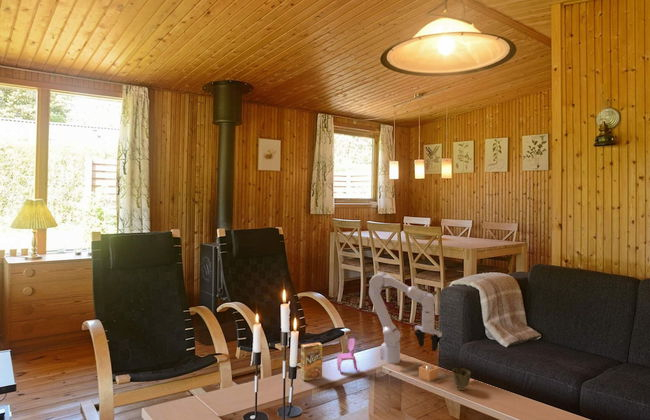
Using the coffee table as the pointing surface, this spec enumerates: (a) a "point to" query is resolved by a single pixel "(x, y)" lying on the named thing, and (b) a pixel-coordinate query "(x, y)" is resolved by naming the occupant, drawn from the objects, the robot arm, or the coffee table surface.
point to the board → (414, 372)
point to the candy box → (311, 361)
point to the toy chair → (348, 355)
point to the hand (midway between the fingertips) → (427, 348)
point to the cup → (461, 378)
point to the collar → (428, 373)
